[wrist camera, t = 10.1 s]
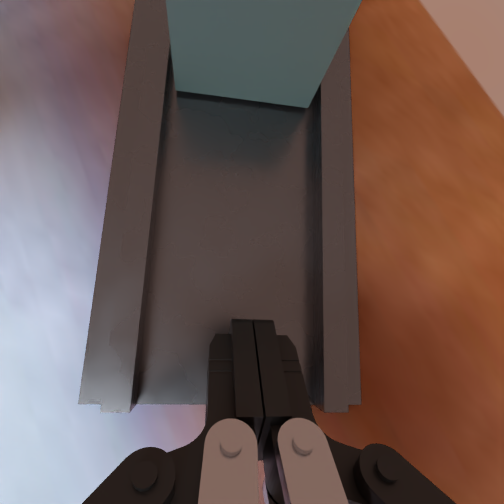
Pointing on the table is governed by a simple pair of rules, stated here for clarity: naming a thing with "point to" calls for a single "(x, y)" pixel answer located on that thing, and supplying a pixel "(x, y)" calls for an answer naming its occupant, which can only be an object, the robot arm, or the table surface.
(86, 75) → the table surface
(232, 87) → the block
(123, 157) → the chute
